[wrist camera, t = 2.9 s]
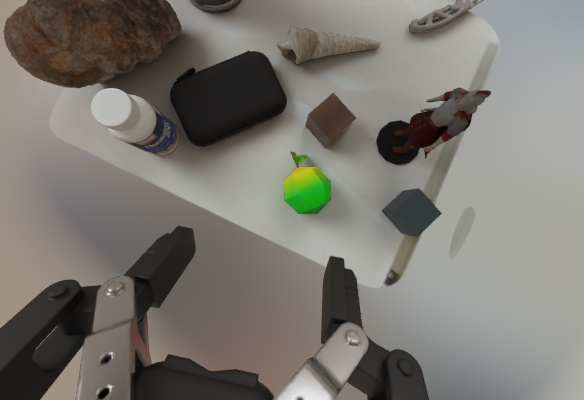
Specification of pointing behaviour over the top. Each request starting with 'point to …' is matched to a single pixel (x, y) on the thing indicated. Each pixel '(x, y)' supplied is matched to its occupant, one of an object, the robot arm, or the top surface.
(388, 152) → the figurine
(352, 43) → the seashell
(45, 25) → the rock
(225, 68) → the carrying case
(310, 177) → the apple
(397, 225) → the slate block
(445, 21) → the knife
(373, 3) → the top surface
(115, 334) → the robot arm
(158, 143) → the pill bottle
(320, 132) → the walnut block
